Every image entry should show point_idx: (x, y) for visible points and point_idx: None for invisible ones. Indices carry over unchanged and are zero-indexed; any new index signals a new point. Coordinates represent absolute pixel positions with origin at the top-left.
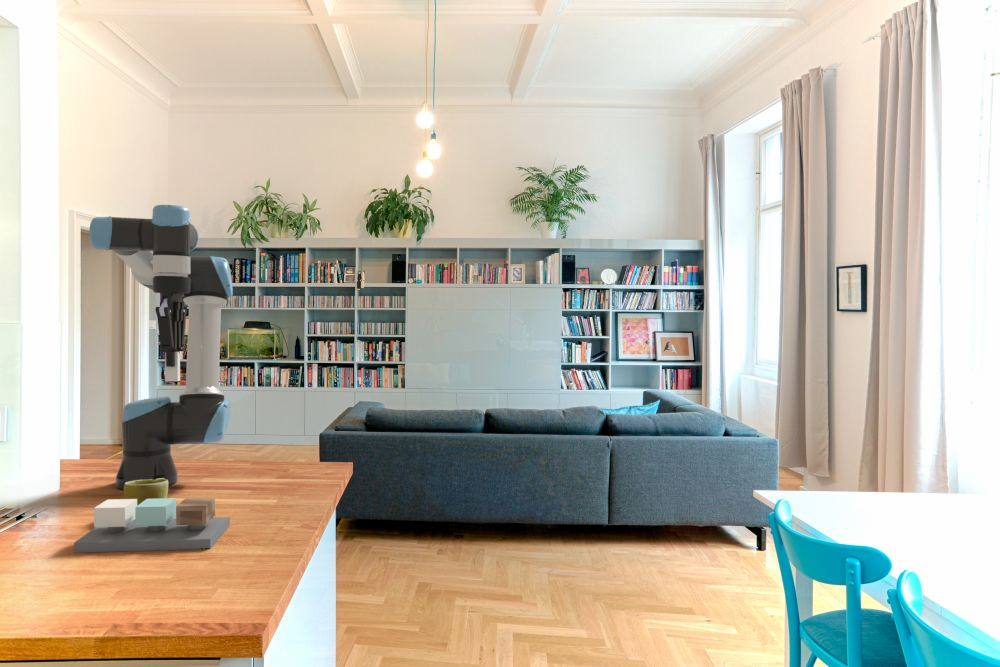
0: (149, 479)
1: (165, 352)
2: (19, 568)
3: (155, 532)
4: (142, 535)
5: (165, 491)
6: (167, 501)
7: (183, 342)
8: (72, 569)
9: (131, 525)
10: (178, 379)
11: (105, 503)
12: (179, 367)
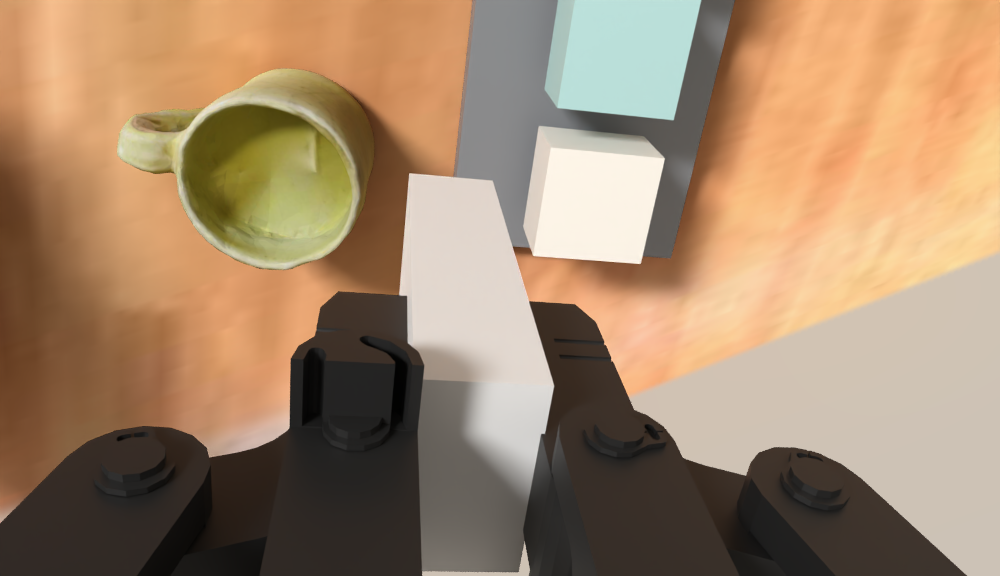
0: (184, 193)
1: (517, 560)
2: (742, 331)
3: None
4: None
5: (292, 87)
6: (623, 6)
7: (38, 519)
8: (802, 200)
9: (532, 137)
10: (469, 184)
11: (588, 245)
12: (432, 243)
